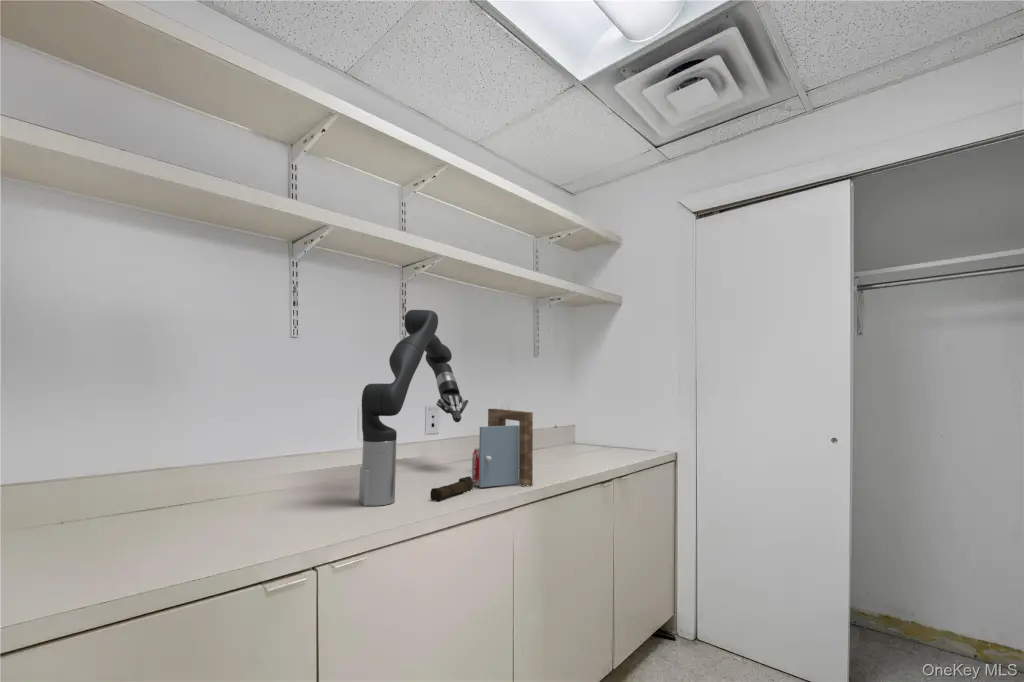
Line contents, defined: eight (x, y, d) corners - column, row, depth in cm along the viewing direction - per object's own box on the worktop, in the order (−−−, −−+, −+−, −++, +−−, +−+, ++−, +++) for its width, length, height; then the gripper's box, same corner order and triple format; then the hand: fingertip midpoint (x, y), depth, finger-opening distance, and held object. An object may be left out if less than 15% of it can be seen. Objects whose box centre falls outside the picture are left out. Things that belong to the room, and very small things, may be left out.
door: (516, 482, 166) (517, 425, 167) (521, 484, 163) (521, 426, 165) (478, 486, 159) (479, 426, 160) (482, 488, 156) (483, 427, 158)
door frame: (524, 486, 162) (525, 412, 164) (487, 473, 185) (488, 408, 187) (532, 485, 163) (532, 412, 165) (494, 472, 187) (495, 408, 189)
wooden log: (440, 503, 140) (440, 486, 140) (429, 501, 142) (429, 484, 143) (479, 491, 156) (479, 476, 156) (469, 489, 158) (469, 475, 159)
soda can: (487, 488, 159) (487, 450, 160) (468, 486, 162) (468, 449, 163) (497, 484, 165) (497, 447, 166) (478, 482, 168) (478, 446, 169)
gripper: (434, 378, 189) (444, 414, 177) (466, 380, 195) (477, 414, 184) (428, 391, 193) (438, 427, 181) (459, 393, 199) (470, 427, 188)
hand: (458, 420), depth 183 cm, fingers closed
